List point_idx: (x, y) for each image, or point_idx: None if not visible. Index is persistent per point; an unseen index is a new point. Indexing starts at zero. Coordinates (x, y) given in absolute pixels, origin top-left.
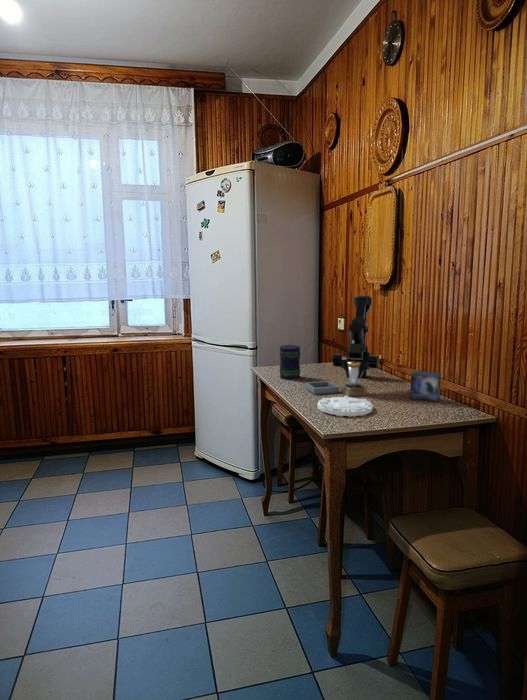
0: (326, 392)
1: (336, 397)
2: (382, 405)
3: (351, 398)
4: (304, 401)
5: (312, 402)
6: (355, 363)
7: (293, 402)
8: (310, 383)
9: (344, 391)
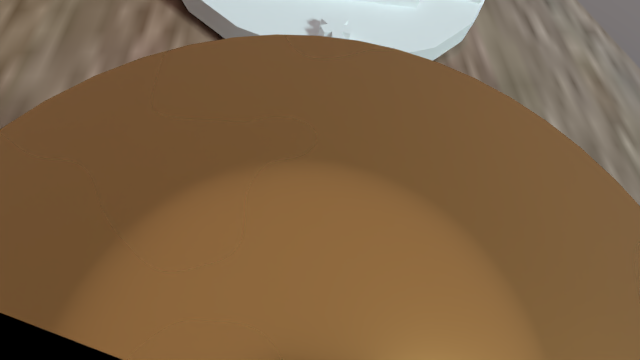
0: None
1: (404, 49)
2: (57, 9)
3: (292, 30)
4: (583, 81)
5: (531, 64)
6: (267, 36)
7: (627, 62)
8: None
9: None
